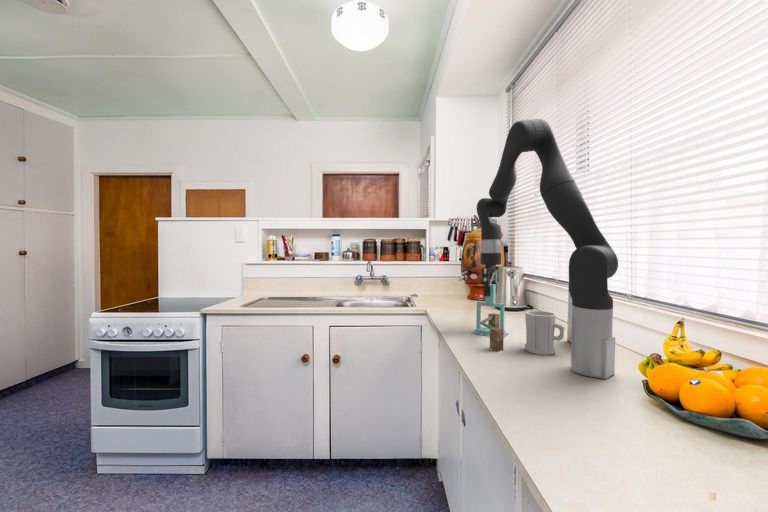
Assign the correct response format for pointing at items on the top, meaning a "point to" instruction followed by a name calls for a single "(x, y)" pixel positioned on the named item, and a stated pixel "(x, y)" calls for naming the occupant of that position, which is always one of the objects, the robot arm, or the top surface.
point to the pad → (489, 335)
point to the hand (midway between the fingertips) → (490, 294)
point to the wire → (486, 321)
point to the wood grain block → (496, 333)
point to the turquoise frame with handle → (490, 302)
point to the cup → (541, 332)
